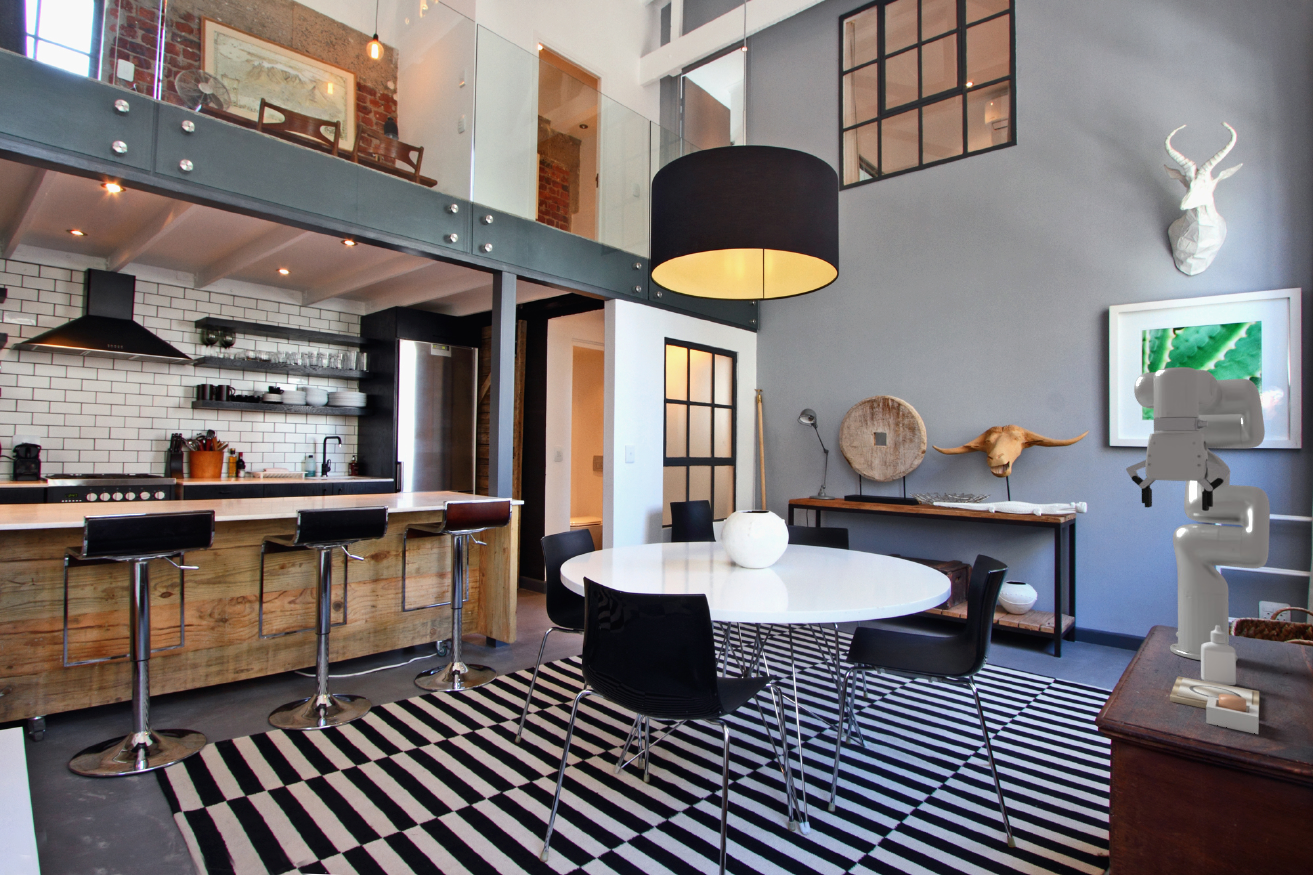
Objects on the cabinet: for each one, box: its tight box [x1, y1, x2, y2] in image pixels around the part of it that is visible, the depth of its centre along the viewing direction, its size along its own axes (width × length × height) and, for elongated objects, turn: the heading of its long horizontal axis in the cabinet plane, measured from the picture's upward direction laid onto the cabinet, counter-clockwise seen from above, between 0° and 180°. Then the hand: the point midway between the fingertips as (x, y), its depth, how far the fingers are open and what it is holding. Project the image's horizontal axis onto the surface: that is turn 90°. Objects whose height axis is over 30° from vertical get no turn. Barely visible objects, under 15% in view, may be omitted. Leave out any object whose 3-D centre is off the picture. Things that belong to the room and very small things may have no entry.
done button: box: [1219, 694, 1246, 712], centre depth 122 cm, size 4×4×2 cm
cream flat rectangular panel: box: [1169, 676, 1260, 709], centre depth 134 cm, size 16×13×1 cm
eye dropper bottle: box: [1200, 625, 1237, 686], centre depth 144 cm, size 4×6×12 cm
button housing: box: [1205, 696, 1260, 735], centre depth 122 cm, size 7×7×3 cm
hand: (1176, 508), depth 141 cm, fingers open, 9 cm apart
